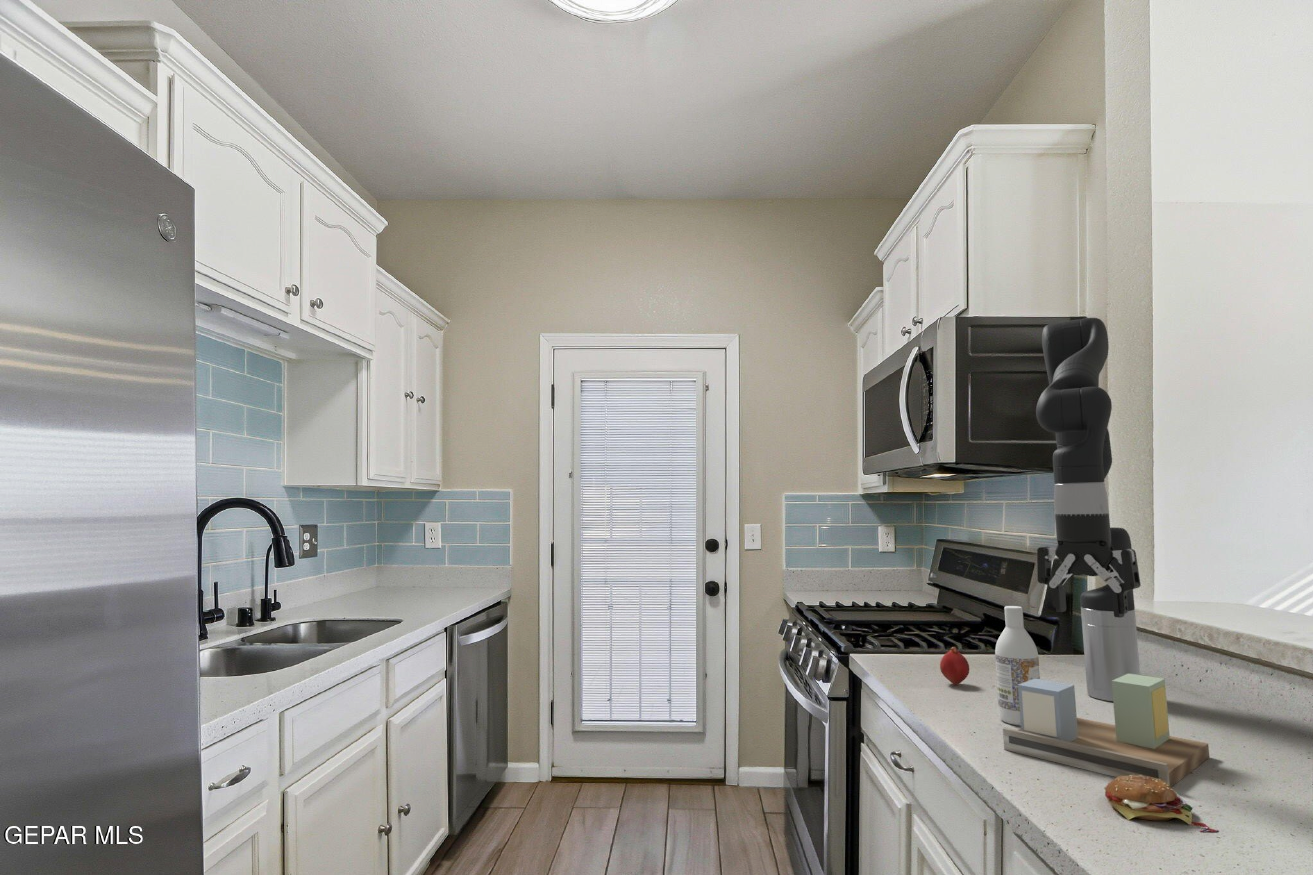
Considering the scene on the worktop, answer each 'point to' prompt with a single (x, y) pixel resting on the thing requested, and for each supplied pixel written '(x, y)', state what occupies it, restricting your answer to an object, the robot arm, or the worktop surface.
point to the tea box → (1140, 710)
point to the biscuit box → (1048, 709)
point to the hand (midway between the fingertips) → (1089, 614)
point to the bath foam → (1014, 664)
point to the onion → (954, 666)
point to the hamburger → (1148, 800)
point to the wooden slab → (1111, 752)
